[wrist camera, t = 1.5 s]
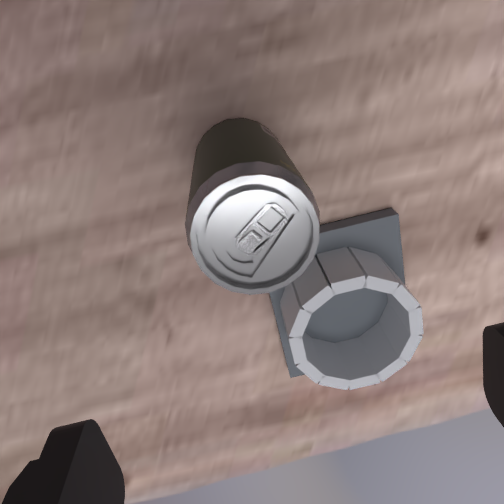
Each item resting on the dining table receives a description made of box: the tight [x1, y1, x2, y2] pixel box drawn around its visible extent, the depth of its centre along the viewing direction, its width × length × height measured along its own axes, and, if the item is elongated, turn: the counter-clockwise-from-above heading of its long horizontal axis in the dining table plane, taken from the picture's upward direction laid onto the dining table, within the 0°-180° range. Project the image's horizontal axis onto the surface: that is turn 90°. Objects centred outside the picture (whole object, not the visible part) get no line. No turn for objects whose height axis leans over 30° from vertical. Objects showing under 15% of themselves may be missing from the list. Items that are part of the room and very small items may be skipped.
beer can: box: [185, 118, 320, 295], centre depth 23 cm, size 5×5×12 cm
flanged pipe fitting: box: [270, 208, 423, 390], centre depth 30 cm, size 11×9×5 cm
